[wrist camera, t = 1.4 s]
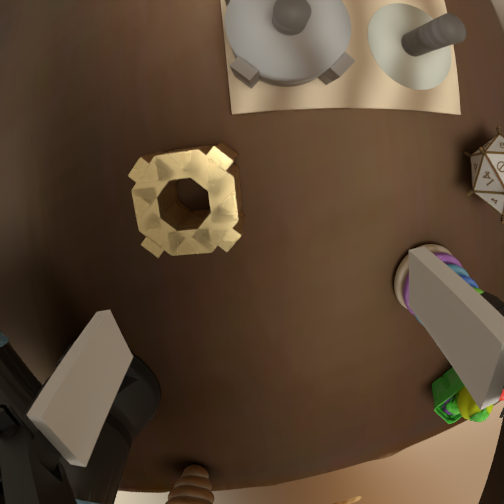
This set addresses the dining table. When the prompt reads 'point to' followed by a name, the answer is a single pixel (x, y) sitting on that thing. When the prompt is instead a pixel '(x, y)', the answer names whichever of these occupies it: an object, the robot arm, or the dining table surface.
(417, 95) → the gear board
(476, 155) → the game die
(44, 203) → the dining table surface
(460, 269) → the stacking toy
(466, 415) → the fruit basket
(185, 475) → the cat ice cream
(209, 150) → the brass gear
